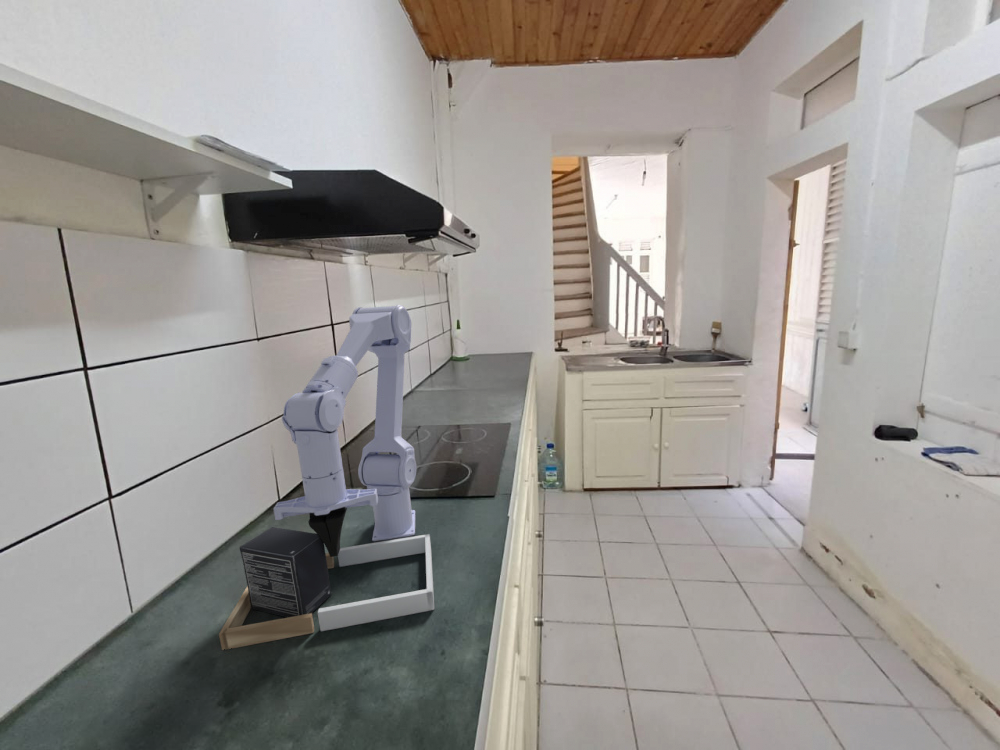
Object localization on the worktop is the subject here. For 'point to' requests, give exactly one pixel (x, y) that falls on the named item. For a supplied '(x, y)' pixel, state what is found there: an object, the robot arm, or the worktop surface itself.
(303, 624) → the block
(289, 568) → the small box
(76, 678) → the worktop surface
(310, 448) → the robot arm
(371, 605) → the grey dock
